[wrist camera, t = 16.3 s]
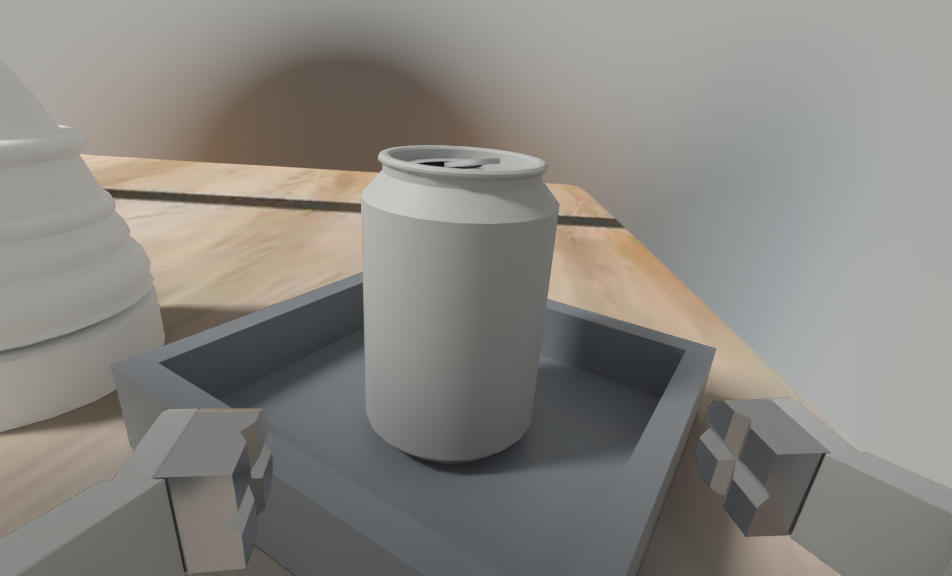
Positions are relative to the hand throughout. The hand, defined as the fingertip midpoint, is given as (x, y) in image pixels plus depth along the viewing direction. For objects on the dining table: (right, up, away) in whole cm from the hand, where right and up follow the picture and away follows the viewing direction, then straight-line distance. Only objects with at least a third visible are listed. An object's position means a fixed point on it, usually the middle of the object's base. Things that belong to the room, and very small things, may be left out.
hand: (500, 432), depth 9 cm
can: (-2, -4, +14) cm, 14 cm away
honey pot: (-25, -2, +18) cm, 30 cm away
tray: (-2, -4, +15) cm, 15 cm away
